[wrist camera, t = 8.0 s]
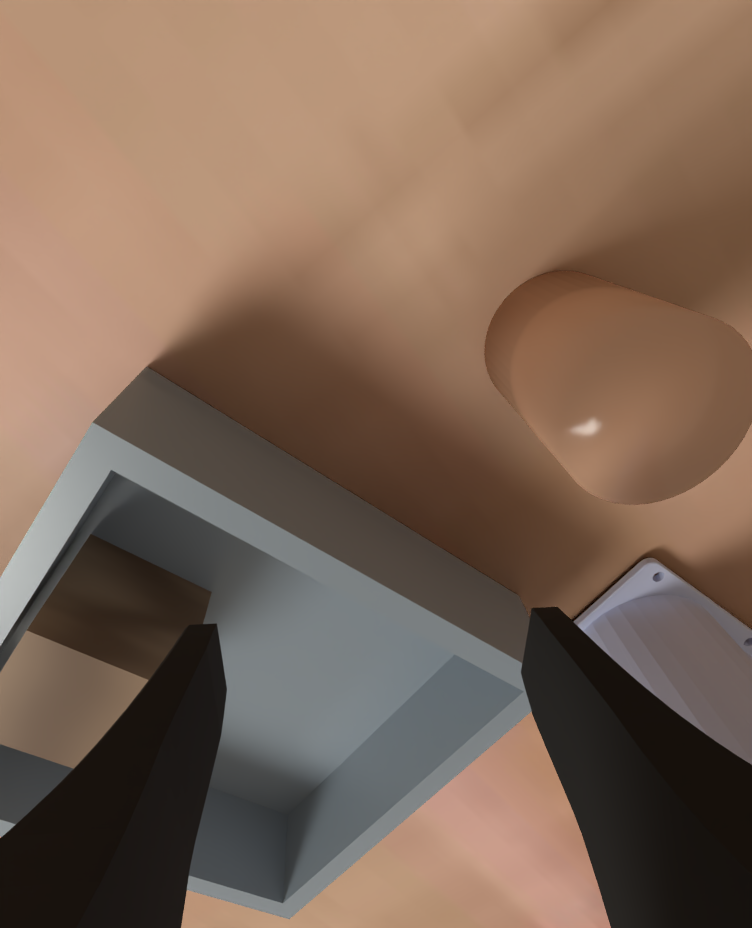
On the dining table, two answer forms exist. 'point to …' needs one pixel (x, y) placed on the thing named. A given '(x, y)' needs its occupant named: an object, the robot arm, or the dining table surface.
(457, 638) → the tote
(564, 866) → the dining table surface
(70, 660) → the walnut cube
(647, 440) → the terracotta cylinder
